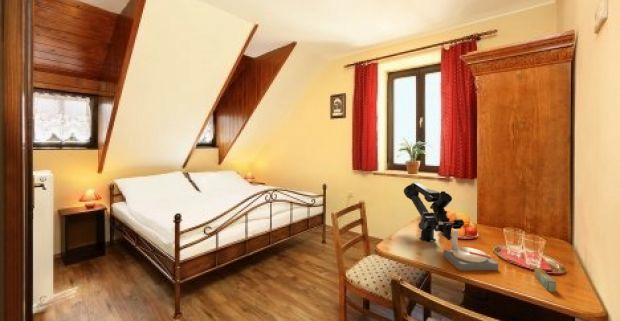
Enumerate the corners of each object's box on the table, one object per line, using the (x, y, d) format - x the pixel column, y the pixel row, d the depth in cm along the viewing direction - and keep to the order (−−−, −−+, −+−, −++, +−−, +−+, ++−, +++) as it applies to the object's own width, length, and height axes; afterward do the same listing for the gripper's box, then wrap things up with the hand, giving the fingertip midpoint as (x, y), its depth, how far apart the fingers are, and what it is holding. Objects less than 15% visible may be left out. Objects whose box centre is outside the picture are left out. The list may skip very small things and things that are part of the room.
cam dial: (492, 255, 131) (493, 233, 130) (488, 266, 120) (489, 242, 120) (454, 247, 142) (455, 226, 141) (447, 256, 131) (448, 234, 130)
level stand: (477, 255, 139) (478, 247, 139) (498, 270, 124) (498, 260, 124) (443, 256, 139) (443, 247, 139) (459, 270, 124) (460, 261, 124)
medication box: (556, 293, 106) (557, 282, 106) (547, 291, 107) (548, 281, 107) (541, 277, 117) (542, 268, 117) (533, 276, 118) (534, 267, 118)
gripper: (451, 219, 155) (461, 246, 145) (417, 219, 155) (425, 246, 145) (459, 209, 146) (470, 237, 136) (423, 209, 146) (432, 237, 136)
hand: (449, 239), depth 139 cm, fingers closed
